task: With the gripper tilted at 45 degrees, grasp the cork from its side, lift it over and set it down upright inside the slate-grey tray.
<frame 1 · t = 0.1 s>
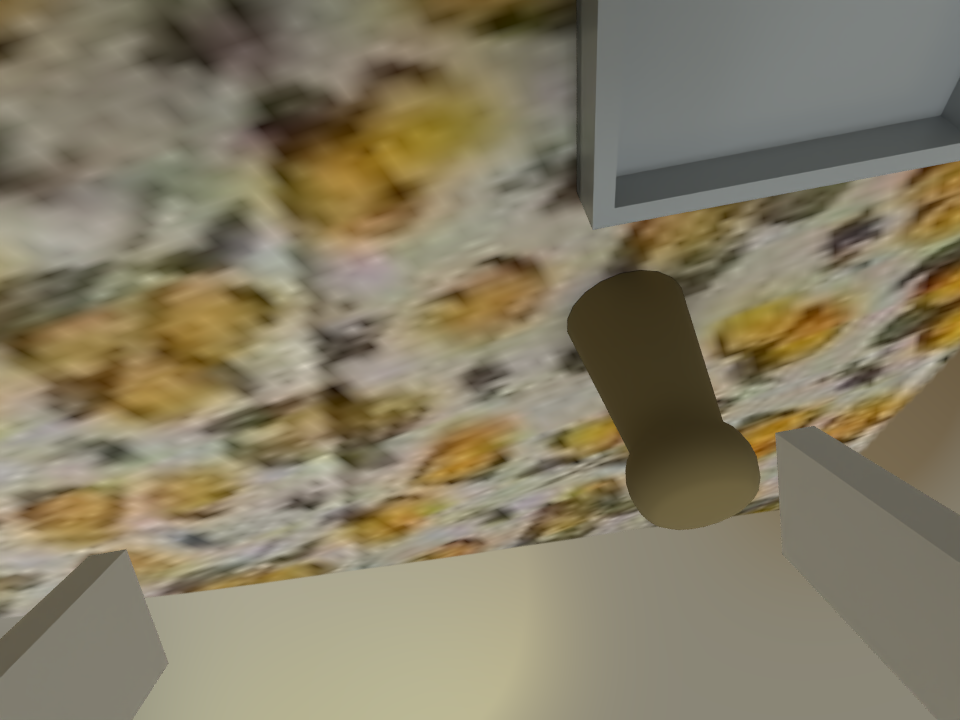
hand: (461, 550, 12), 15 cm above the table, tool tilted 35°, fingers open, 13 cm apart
cork: (624, 313, 30), on the table
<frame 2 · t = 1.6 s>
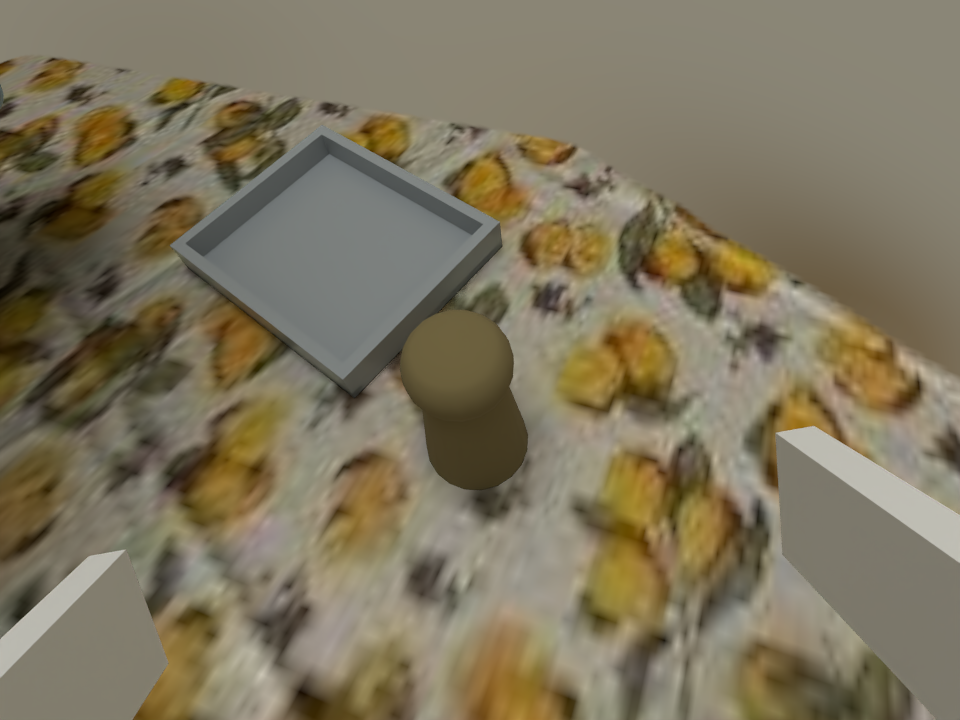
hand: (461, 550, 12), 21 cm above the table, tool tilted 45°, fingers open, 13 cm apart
tray: (341, 257, 43), on the table
cork: (477, 441, 35), on the table
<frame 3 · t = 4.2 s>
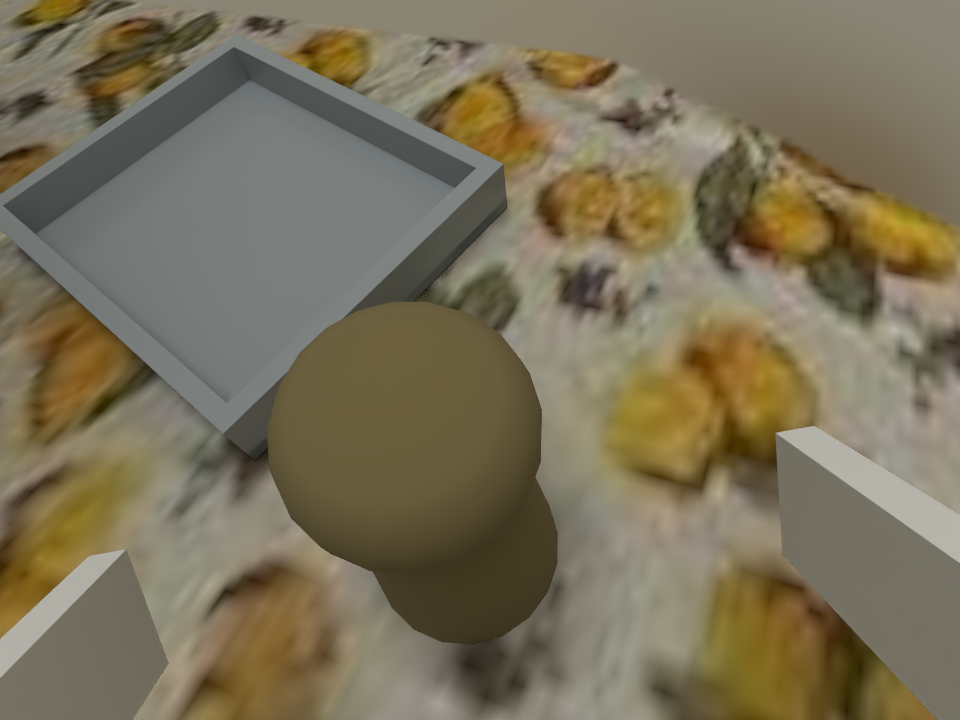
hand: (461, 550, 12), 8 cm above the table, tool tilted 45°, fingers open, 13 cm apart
tray: (255, 227, 28), on the table
cork: (466, 544, 20), on the table
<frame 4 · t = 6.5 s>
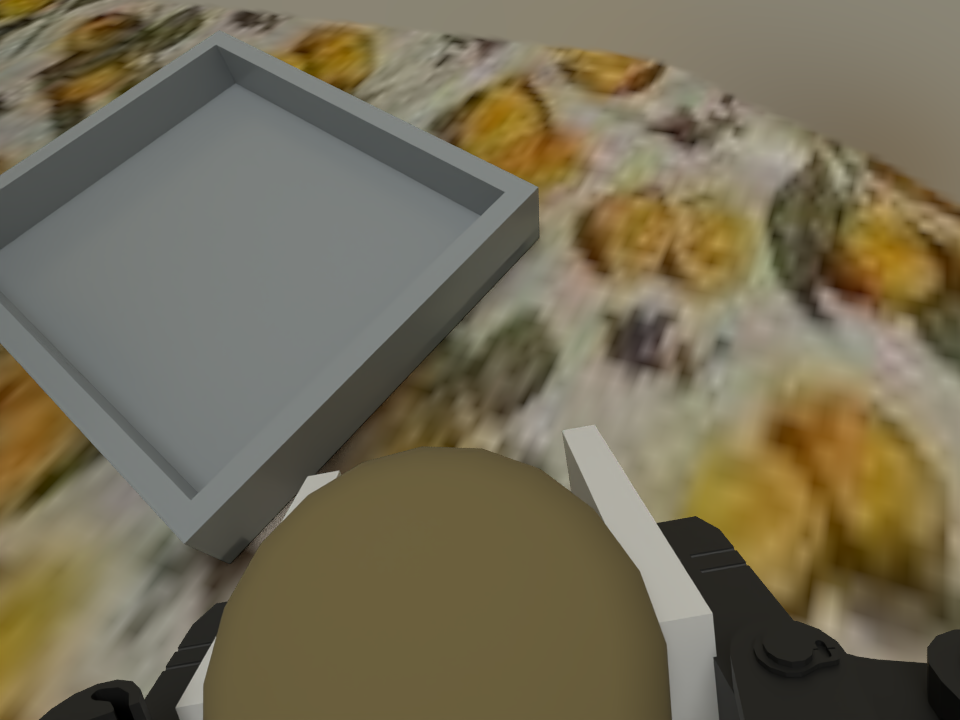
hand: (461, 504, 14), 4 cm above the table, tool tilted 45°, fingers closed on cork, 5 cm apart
tray: (238, 259, 23), on the table
cork: (499, 688, 15), on the table, touching gripper
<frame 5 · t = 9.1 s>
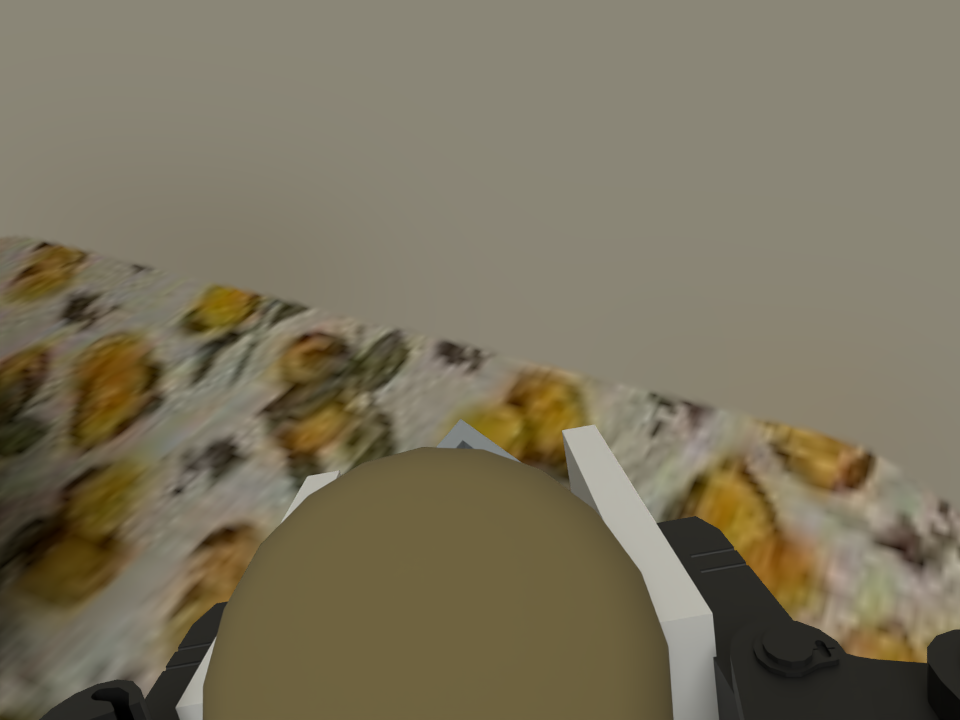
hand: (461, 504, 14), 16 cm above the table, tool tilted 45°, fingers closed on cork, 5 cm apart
tray: (515, 684, 26), on the table
cork: (499, 688, 15), point 12 cm above the table, touching gripper
when the fingers open (5 cm above the table, at t = 11.8 s): cork drops 1 cm, resting on tray.
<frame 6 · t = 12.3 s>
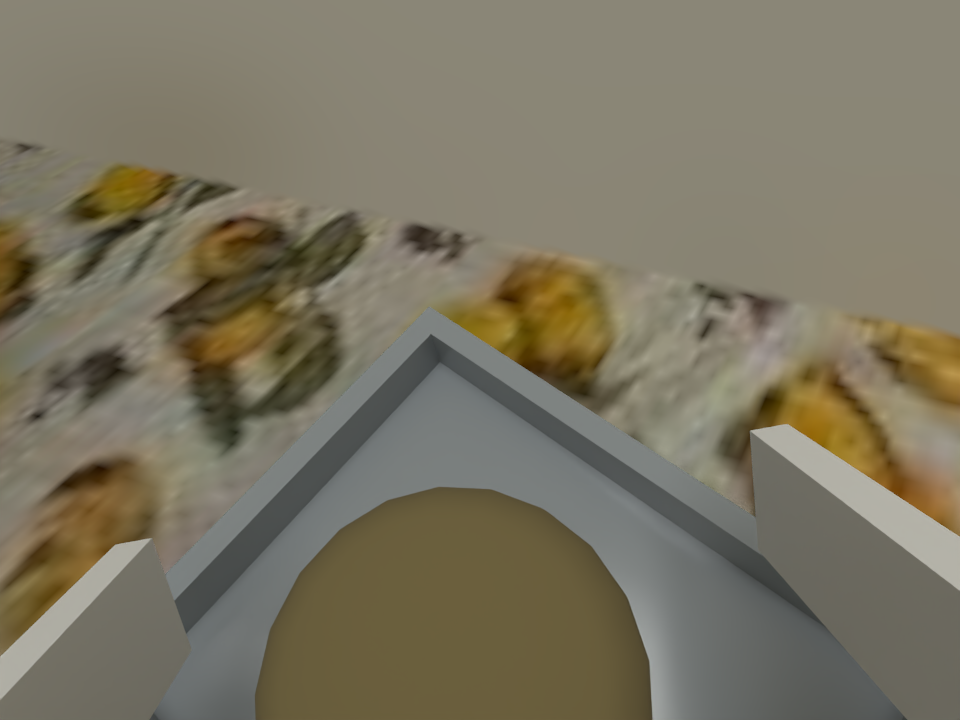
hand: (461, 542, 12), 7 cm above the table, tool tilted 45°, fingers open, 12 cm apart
tray: (504, 689, 17), on the table
cork: (502, 690, 16), resting on tray
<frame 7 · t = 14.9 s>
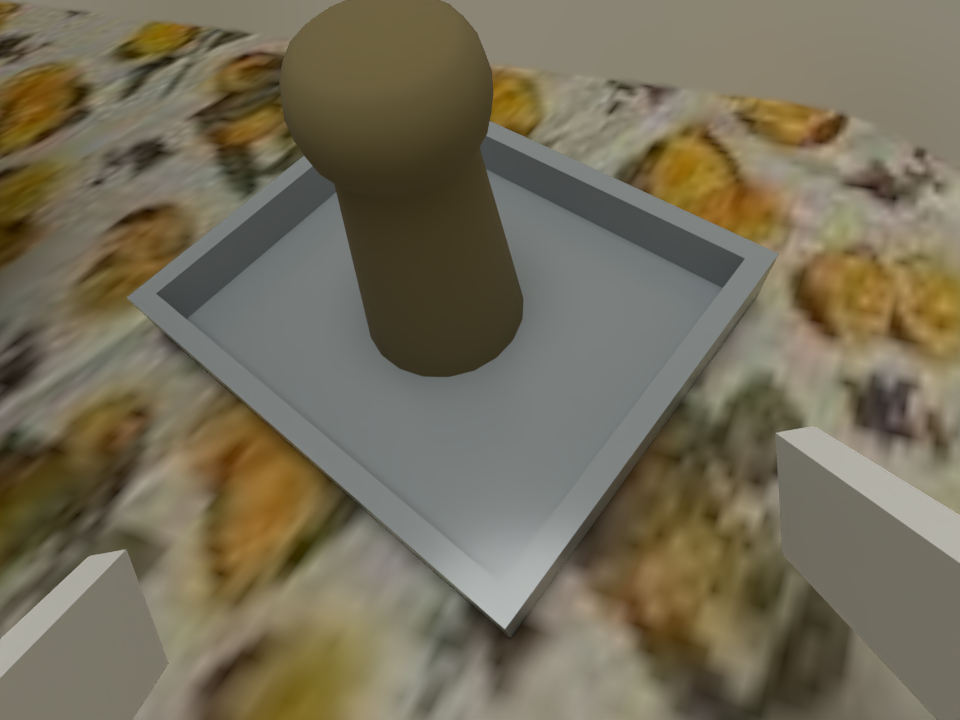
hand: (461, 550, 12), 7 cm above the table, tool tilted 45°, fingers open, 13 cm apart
tray: (447, 316, 23), on the table
cork: (445, 311, 23), resting on tray
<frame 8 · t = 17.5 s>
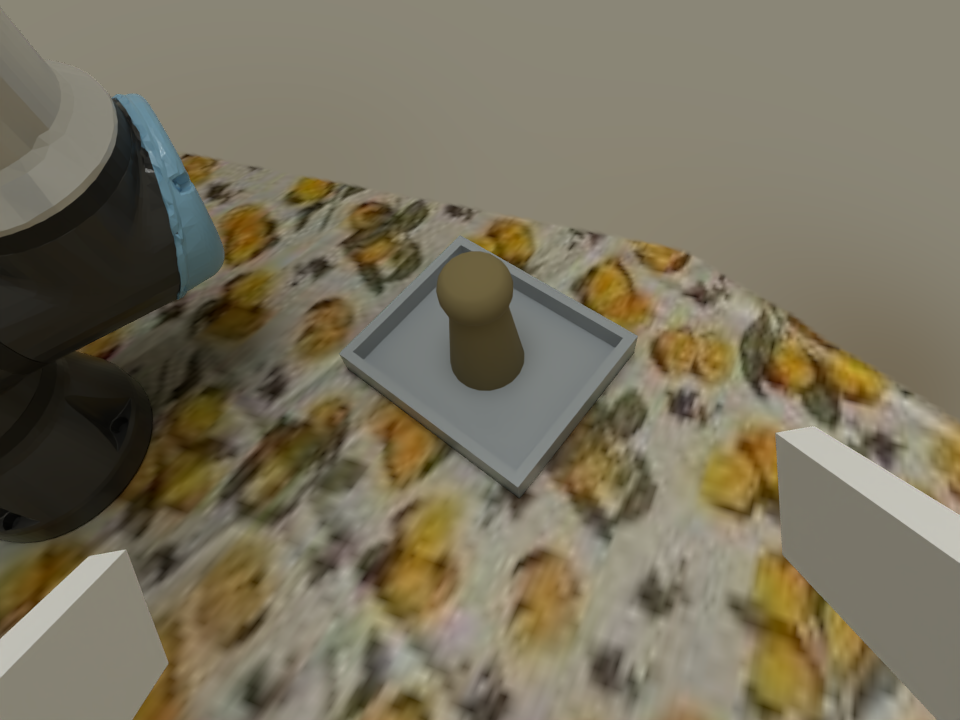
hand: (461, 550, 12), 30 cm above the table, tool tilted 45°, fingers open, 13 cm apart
tray: (488, 361, 48), on the table
cork: (487, 358, 48), resting on tray
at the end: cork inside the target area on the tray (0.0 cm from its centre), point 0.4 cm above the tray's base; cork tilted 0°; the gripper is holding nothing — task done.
